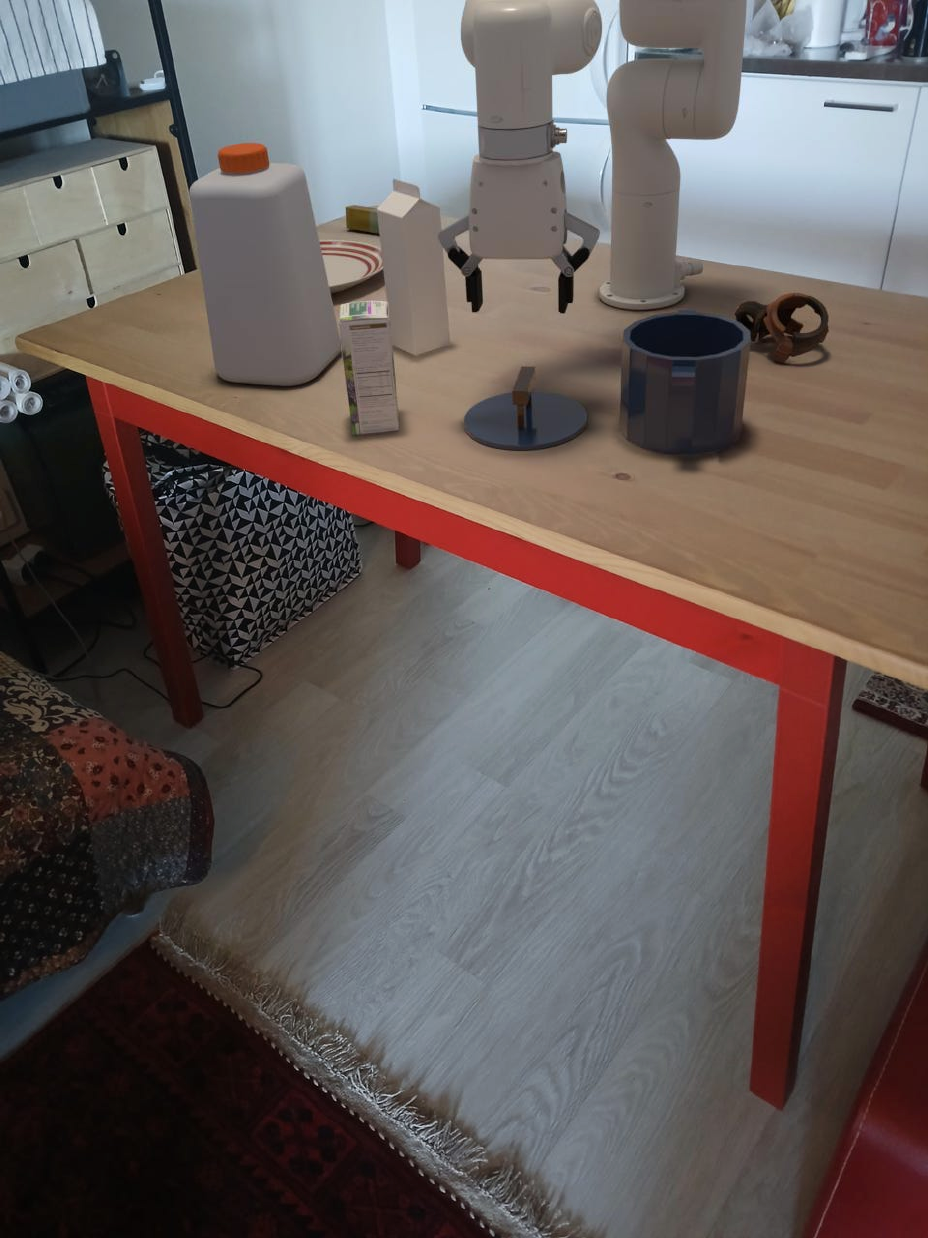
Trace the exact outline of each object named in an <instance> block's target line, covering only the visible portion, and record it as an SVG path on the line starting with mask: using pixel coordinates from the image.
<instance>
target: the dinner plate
mask: <svg viewBox="0 0 928 1238" xmlns="http://www.w3.org/2000/svg"><path fill="white" fill-rule="evenodd" d="M319 242H320V246H321V251H322V256H323V260H324V265H325V270H326V274H327V279H328V284H329V288H330V293H331V295H333V294H336V293H337V294H338V293H340V292H343V291H346V290H348V289H350V288H353V287H354V286H356V285H359V284H360V283H363V282H366V281H367V280H369V279H370V278H372V277H374V276H375V275H376V274H378V273H379V272H381V271H382V270H383V262H382V253H381V246H380V247H379V246H377V245H375V244H371V243H367V242H363V241H358V240H357V241H356V240H348V239H346V240H345V239H319Z"/></svg>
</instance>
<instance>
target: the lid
mask: <svg viewBox="0 0 928 1238" xmlns="http://www.w3.org/2000/svg"><path fill="white" fill-rule="evenodd" d="M536 375H537V374H536V366H520V369H519V372H518V375H517V377H516V380H515V382H514V385H513V388H512V390H511V391H510V392H505V393H502V394H501V393H500V394H497V395H494V396H490V397H488V398H485V399H483V400H480V401H479V402H477V403H476V404H473V406H471V407H470V408H469V409H467V412H466V413H465V415H464V418H463V428H464V431H465V432H466V434H467V435H468V436H469V437H470V438H471V439H473V441H475V442H477V443H479V444H481V445H484V446H487V447H491V448H494V449H499V450H505V451H506V450H508V451H534V450H541V449H547V448H552V447H556V446H559V445H562V444H564V443H566V442H569V441H572V440H573V439H574V438H576V437H577V436H579V435H580V434H581V433H582V432H583V431H584V430H585V428H586V426H587V424H588V413H587V410H586V409H585V407H584V406H583V404H581V403H580V402H579V401H577V400H575V399H573V398H571V397H569V396H566V395H563V394H560V393H554V392H550V391H539V390H533V389H534V385H535V382H536Z"/></svg>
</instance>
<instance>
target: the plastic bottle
mask: <svg viewBox="0 0 928 1238" xmlns="http://www.w3.org/2000/svg"><path fill="white" fill-rule="evenodd" d="M217 160H218V165H219V168H216V169H215V170H212V171H210V172H208V173H207V174H205V175H203V176H201V177H200V178H199V179H197V180H195V181H194V182H193V183H192V184H191V186H190V187H189V202H190V208H191V214H192V215H191V216H192V221H193V229H194V234H195V243H196V248H197V256H198V263H199V269H200V277H201V283H202V290H203V296H204V303H205V310H206V316H207V324H208V330H209V338H210V345H211V351H212V357H213V364H214V370H215V372H216V374H217V375H218V376H219V377H220V378H221V379H223V380H224V381H226V382H229V383H236V384H247V385H248V384H249V385H262V386H263V385H265V386H278V387H293V386H294V387H295V386H299V385H303V384H306V383H308V382H310V381H313V380H314V379H315V378H317V377H318V376H319V375H320V374H321V373H322V372H323V371H324V370H325V369H326V368H327V367H328V366H329V364H331V362H333V361H334V359H335V358H336V357H337V356H338V355H339V354H340V352H341V351H342V345H341V337H340V330H339V325H338V322H337V317H336V312H335V309H334V304H333V299H332V298H333V297H332V294H331V293H330V288H329V284H328V279H327V274H326V270H325V265H324V260H323V256H322V251H321V246H320V242H319V240H320V238H319V233H318V228H317V223H316V218H315V214H314V210H313V204H312V200H311V195H310V191H309V186H308V181H307V177H306V173H305V171H304V169H302V168H301V167H300V166H299V165H297V164H293V163H283V162H270V159H269V153H268V148H267V147H266V146H265V145H264V144H262V143H257V142H242V143H235V144H229V145H227V146H224V147H222V148H220V149H219V150H218V152H217Z"/></svg>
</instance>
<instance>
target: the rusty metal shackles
mask: <svg viewBox="0 0 928 1238" xmlns="http://www.w3.org/2000/svg"><path fill="white" fill-rule="evenodd" d="M807 305H808V307H810V308H811V309H812V310H813V312H814V313H815V314H816V315H818V316H819V318H820V324H819V326H818V327H817V328H816V329H814V330H812V331H809V332H801V331H802V329H803V328H804V327H805V326H804V325H805V324H803V323H802V322H800V321H798V320H796V319H795V318H793V317H792V316H793V314H794V312H796V310H797V309H803V308H804V307H806V306H807ZM734 317H735V321H738V322H740V323H741V324H742V325H744V326H745V327H746V328H747V329H748V330H749V331H750V337H751V343H754V342H756V339H757V340H758V341H761V340H763V339H764V338H766V337H767V336H771V337H772V339H773V340H774V341H775V342H776V343H777V344H778V345H777V347H776V350H775V351H774V352H773V353H772V358H773V359H774V360H775V361H777V362H779V363H780V364H783V363H785V362H786V361H788V360H789V358H790V357H792V358H795V357H797V356H801V355H804V354H807V353H809V352H812V351H814V350H815V349H818V348H819V347H820V344H822V343H824V341H825V339H826V337H827V336H828V334H829V332H830V329H829V318H830V317H829V313H828V310H827V308H826V306H825V305H824V303H822V301H820V300H818V299H817V298H815V297H814V296H812V295H808V294H805V293H800V292H793V293H792V292H789V293H786V294H783V295H780V296H779V297H777V298H776V299H775V300H774V301H772V302H771V303H768V304H764V303H763V304H762V303H760V302H758V301H754V300H747V301H744V302H741V303H740V304H739V305H738V307H737V308H736V309H735V311H734ZM749 317H750V318H751V319H752V320H751V319H750V318H749ZM785 334H786V335H789V336H792V338H790V337H788V336H786V335H785Z"/></svg>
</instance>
